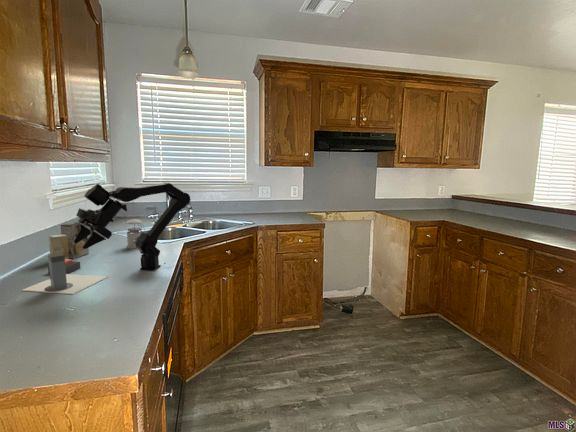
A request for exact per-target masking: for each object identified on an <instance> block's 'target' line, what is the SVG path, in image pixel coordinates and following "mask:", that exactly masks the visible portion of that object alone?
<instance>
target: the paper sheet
mask: <svg viewBox="0 0 576 432" xmlns="http://www.w3.org/2000/svg"><path fill="white" fill-rule="evenodd" d="M106 279H108V276H101V275H100V276H99V275H89V274H88V275H86V274H85V275H84V274H72V273H71V274H70V273H68V274H66V280H67V287H65V288H61V289H56V290H54V289H53V288H52V287H51V280H50V278H49V279H46V280H43V281H41V282H39V283H35V284H33V285H31V286H28V287H26V288H24V289H22V290H21V291H22V292H33V293H35V292H36V293H46V294H47V293H48V294H49V293H50V294H62V295H75V294H77V293H79V292H81V291H83V290H85V289H88V288H89V287H92V286H93V284H94V285H96V284H98V283H99V281H100V282H102V281H103V280H106ZM101 280H102V281H101ZM97 282H98V283H97ZM95 283H96V284H95ZM91 285H92V286H91Z"/></svg>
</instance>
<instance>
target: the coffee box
mask: <svg viewBox="0 0 576 432" xmlns="http://www.w3.org/2000/svg"><path fill="white" fill-rule="evenodd" d="M78 223H80V222H78V221H76V222H70V223H65V224H60V231H61V232H60V233H61V234H60V235H62V234H65V235H67V240H68V258H69V259H76V258H79V257H82V256H86V255H88V254H90V251H89V250H90V249H89V247H88V248H86V249H83V248H82V247H83V245H84V244H85V242H86V241H87V239H88V238H89V236H87V237H86V238H84V239H83V240H81V241H80V242H78V243H74V240H75V238H76V236H77V234H78V231H79V224H78ZM80 224H81V223H80Z"/></svg>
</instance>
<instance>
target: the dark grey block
mask: <svg viewBox="0 0 576 432" xmlns="http://www.w3.org/2000/svg"><path fill="white" fill-rule="evenodd" d="M47 257H48V266H49V269H50V273H49V279H50V280H51V287H52V288H53V289H54V290H56V289H61V288H65V287H67V280H66V268H65V256H64V255H63V254H62V253H59V254H53V255H50V254H48V255H47Z"/></svg>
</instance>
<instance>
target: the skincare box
mask: <svg viewBox="0 0 576 432" xmlns="http://www.w3.org/2000/svg"><path fill="white" fill-rule="evenodd" d="M48 240H49V241H48V242H49V255H53V254H59V253H62V254H63V255H64V256H65V259H70V258H68V240H67V235H65V234H55V235H54V234H53V235H48Z"/></svg>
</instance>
